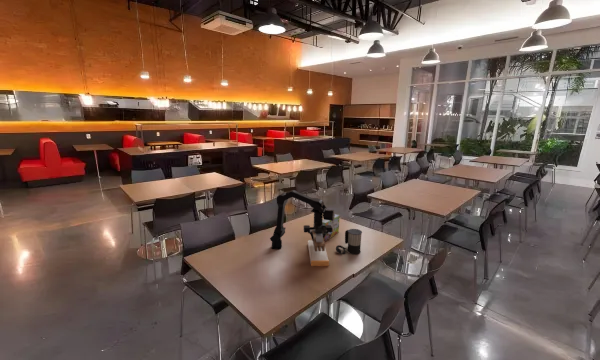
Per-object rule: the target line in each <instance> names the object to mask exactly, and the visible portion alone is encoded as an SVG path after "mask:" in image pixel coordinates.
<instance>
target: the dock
mask: <svg viewBox="0 0 600 360" xmlns="http://www.w3.org/2000/svg"><path fill="white" fill-rule="evenodd" d="M307 248H308V254H309V261H310V266H311V267H329V266H330V260H329V258H328V257H329V256H328V253H327V249H326V248H325V251H322V249H321V251H318V248H317V251H315V249H314V244H313V241H312V239H309V240H307Z"/></svg>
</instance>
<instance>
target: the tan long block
mask: <svg viewBox="0 0 600 360" xmlns="http://www.w3.org/2000/svg"><path fill="white" fill-rule="evenodd" d="M312 232H313V244H314V249H315V251H317V248H318V251H321V249H322V251H325V249H326V245H325V244H326V243H325V241H324V239H323V242H316V233H315V232H314V230H312Z"/></svg>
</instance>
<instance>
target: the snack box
mask: <svg viewBox="0 0 600 360" xmlns="http://www.w3.org/2000/svg"><path fill="white" fill-rule="evenodd" d="M334 214H335V216H334V221H330V220H324V219H323V221H322V224H323V225H324V226H326V225H331V226H332V228H333V232H328V233H327V234H326V235H325V237H324V242H326V241H327V240H329V239H331V238H332V237H334V236H335V235H337V234H338V233H339V232H340V231H339V230H340V214H336V213H334Z"/></svg>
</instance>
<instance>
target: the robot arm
mask: <svg viewBox="0 0 600 360" xmlns="http://www.w3.org/2000/svg"><path fill="white" fill-rule="evenodd" d="M292 198H293V199H295V200H298V201H300V202H302V203H306V204H307V205H309V206H310V208H312V209H311V210H310V212H311V213H313V224H314V227H313V226H310V224H305V225H303V233H307V234H309V235H310V236H311V240H312V241H313V232H312V230H315V233H316V234H322V235H323V239H324V237H325V235H326V234H327V233H328V232H333V228H332V226H331V225H326V226H324V225H323V224H322V221H323V219H324V220H330V221H334V216H335V214H336V213H335V210H334V209H327V206H326V205H325V202H324V200H323V199H321V198H317V197H312V196H311V197H310V196H309V195H307V194H304V193H301V192H299V191H297V190H295V189H292V190H289V191H287V192H282V193H280V194H278V195H277V197H276V205H277V214H276V217H277V218H276V226H275V227H274V230H273V235H272V236H271V237H270V238H269V240H270V241H271V249H272V250H282V247H283V241H282V237H283V236H284V235H285V234H286V227H284V220H285V209H286V204H287V203H288V200H289V199H292Z"/></svg>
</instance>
